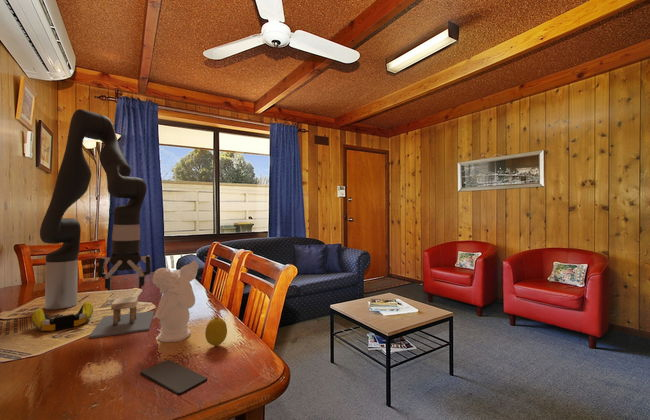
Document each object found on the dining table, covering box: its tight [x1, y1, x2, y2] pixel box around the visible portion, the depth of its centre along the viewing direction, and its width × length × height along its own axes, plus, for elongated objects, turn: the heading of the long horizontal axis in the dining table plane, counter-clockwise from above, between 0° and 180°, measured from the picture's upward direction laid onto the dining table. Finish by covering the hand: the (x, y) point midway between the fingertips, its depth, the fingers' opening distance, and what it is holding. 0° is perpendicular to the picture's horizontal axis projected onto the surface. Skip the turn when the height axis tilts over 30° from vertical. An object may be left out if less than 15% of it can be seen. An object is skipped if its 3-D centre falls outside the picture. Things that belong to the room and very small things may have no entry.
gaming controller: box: [31, 301, 94, 332], centre depth 97 cm, size 15×6×10 cm
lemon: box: [205, 316, 228, 347], centre depth 83 cm, size 6×6×8 cm
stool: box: [110, 296, 139, 326], centre depth 98 cm, size 6×6×7 cm
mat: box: [88, 310, 155, 339], centre depth 98 cm, size 18×15×1 cm
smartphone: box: [139, 359, 208, 396], centre depth 67 cm, size 7×1×15 cm
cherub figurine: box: [152, 259, 199, 343], centre depth 91 cm, size 12×12×22 cm
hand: (125, 288), depth 98 cm, fingers open, 8 cm apart
